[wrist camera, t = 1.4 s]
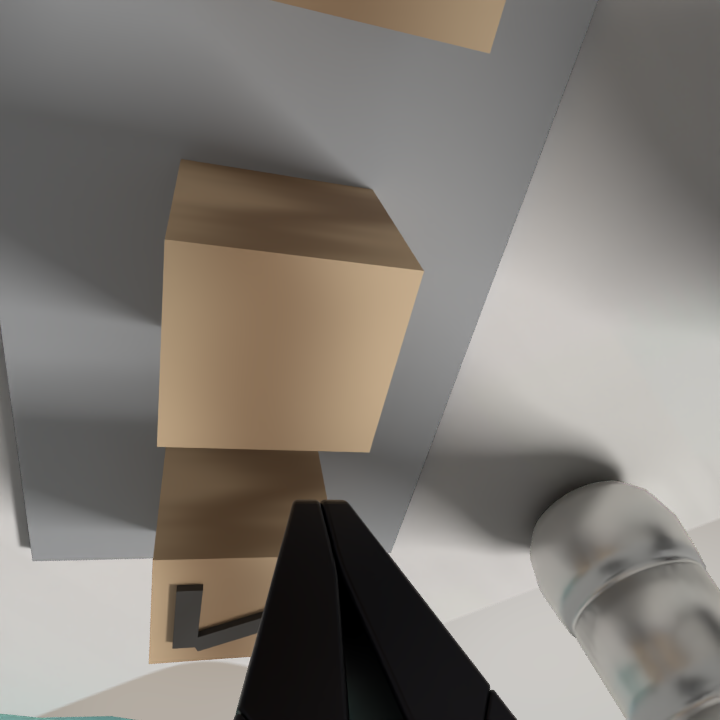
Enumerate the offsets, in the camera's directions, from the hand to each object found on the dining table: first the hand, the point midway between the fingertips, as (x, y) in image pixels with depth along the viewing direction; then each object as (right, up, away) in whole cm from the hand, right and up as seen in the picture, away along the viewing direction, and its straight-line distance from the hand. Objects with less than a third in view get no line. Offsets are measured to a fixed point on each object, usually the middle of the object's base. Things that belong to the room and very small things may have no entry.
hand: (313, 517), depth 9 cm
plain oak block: (-2, +5, +7) cm, 9 cm away
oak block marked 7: (-4, -2, +12) cm, 13 cm away
